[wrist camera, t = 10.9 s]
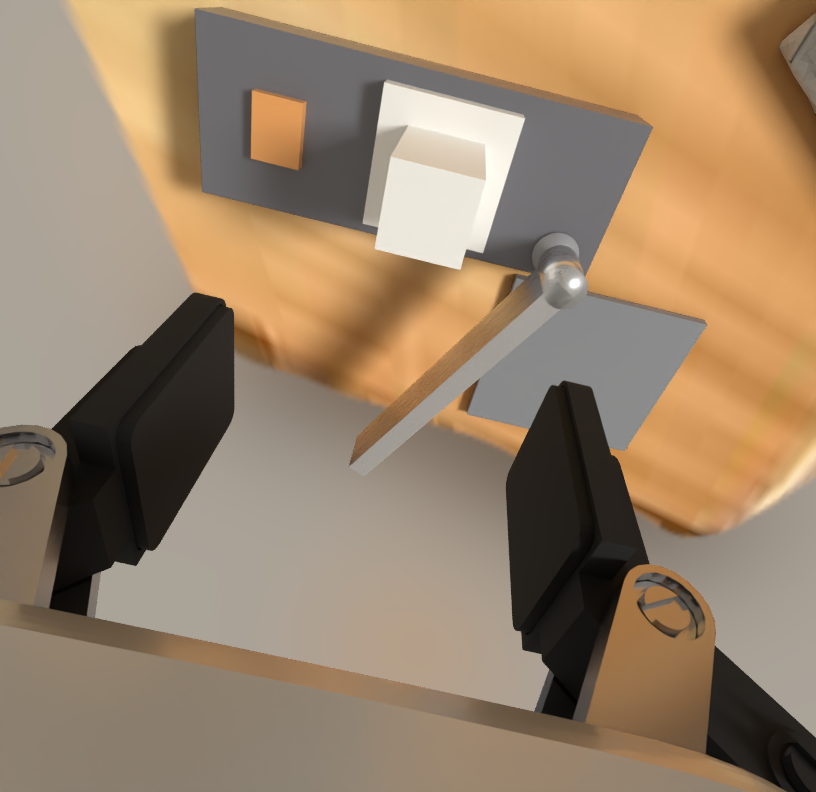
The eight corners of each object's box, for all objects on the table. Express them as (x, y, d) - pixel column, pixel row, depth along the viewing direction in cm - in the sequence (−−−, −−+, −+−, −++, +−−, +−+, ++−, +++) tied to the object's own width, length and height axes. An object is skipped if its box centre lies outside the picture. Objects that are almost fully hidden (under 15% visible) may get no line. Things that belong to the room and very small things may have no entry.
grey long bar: (376, 447, 36) (368, 479, 33) (352, 432, 35) (343, 463, 33) (586, 262, 26) (596, 288, 24) (559, 237, 26) (567, 261, 23)
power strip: (224, 176, 30) (197, 195, 27) (221, 7, 25) (188, 8, 22) (573, 262, 31) (582, 289, 28) (637, 115, 26) (656, 129, 23)
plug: (374, 200, 30) (336, 272, 22) (395, 72, 26) (358, 104, 18) (482, 227, 30) (483, 307, 22) (520, 104, 26) (536, 149, 18)
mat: (467, 409, 38) (466, 414, 38) (516, 274, 32) (516, 278, 31) (622, 445, 39) (624, 451, 38) (703, 320, 32) (707, 324, 32)
